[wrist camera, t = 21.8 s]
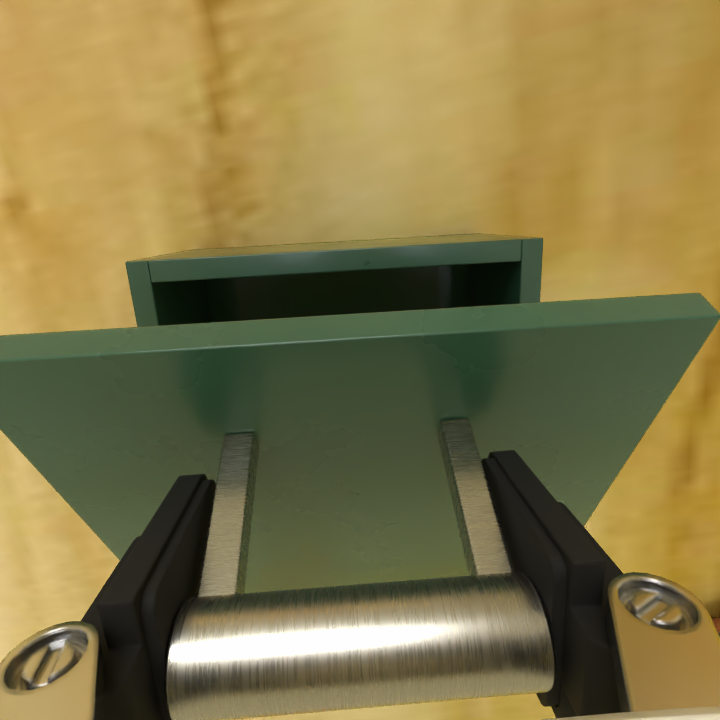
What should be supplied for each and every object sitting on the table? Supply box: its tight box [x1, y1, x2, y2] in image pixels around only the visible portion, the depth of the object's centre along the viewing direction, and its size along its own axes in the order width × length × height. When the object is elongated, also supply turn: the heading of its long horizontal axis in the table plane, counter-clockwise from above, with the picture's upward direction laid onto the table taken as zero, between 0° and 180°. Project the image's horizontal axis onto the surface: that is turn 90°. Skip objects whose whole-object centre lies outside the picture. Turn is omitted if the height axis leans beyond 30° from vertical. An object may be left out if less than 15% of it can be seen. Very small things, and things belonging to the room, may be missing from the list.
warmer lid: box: [0, 293, 720, 720], centre depth 13 cm, size 16×15×6 cm
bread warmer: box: [126, 234, 543, 327], centre depth 23 cm, size 16×15×8 cm
